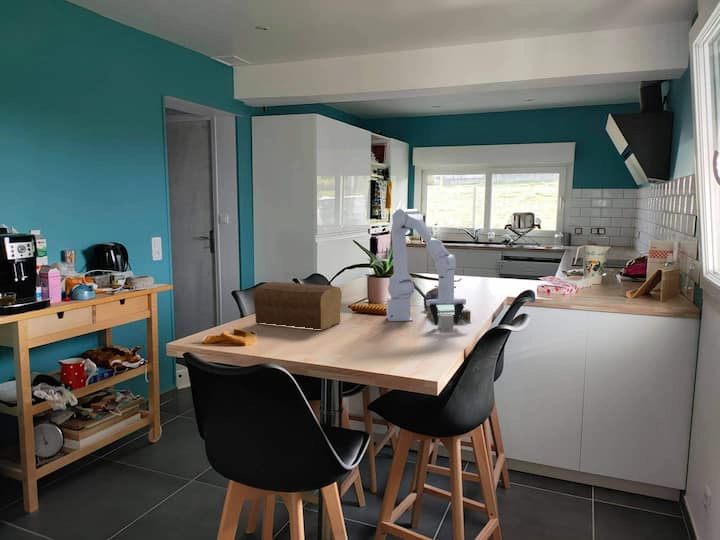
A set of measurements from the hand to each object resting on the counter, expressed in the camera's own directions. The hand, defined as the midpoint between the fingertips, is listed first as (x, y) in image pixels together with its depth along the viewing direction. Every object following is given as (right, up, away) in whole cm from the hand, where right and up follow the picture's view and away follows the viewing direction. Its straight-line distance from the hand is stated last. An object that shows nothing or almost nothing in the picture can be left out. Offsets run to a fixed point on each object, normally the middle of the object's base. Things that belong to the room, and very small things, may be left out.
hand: (445, 324), depth 201 cm
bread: (-56, -1, +10) cm, 57 cm away
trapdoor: (+4, +4, +17) cm, 18 cm away
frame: (+4, +1, +17) cm, 17 cm away
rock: (+1, +3, +37) cm, 37 cm away
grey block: (0, +1, 0) cm, 1 cm away
